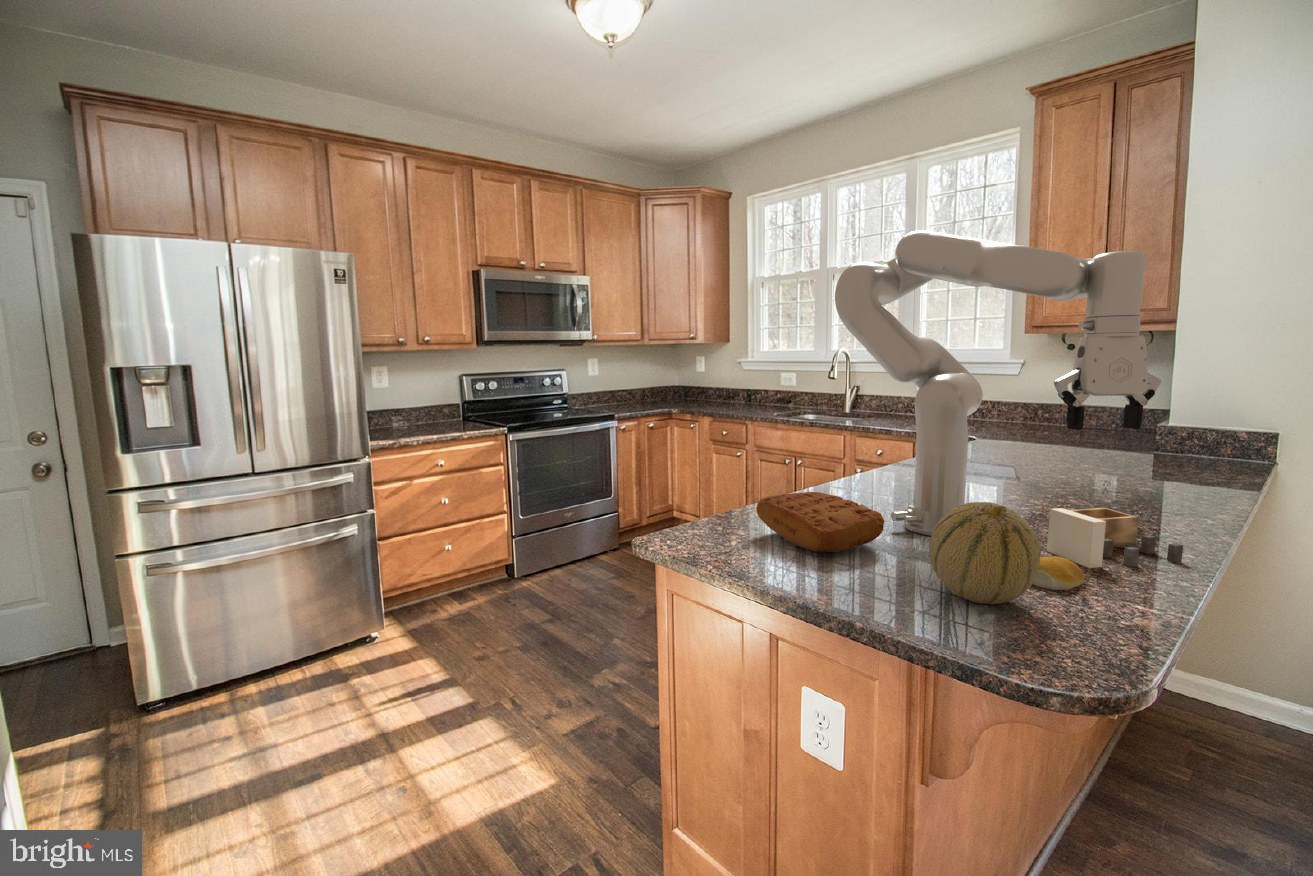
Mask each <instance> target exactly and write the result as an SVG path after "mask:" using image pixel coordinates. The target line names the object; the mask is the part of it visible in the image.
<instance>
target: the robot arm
mask: <svg viewBox="0 0 1313 876" xmlns="http://www.w3.org/2000/svg"><path fill="white" fill-rule="evenodd" d="M894 256H895V257H893V258H892V259H890V260H889V261H888V262H886V263H884V264H879V263H875V262H869V261H862V262H855V263H853V264H851V265H849V266H847V267H846V268H845V269H844V270H842V273H841V274H840V276H839V277H838V279H837V282H836V286H835V292H834V303H835V309H836V312H837V314H838V316H839V319H840V320H841V322H842V323H843V326H844V327H846V329H847V330H848V331H849V333H850V334H852V335H853V337H854V338H855V339H856V340H857V341H858V342H859V343H860V344H861V345H862V346H863V348H865V350H866V351H867V352H868V353H869V355H871V357H872V358H874V360H876V362H877V363H878V364H879V365H880V366H881V367H882V368H883V369H884V370H885V371H886V372H887V374H889V376H890V377H891V378H893V379H894V380H895V381H897V382H901V383H907V384H909V383H914V384H915V385H916V387H918V389H917V392H916V394H915V399H914V417H915V429H916V431H915V434H916V435H915V436H916V437H915V438H916V440H915V461H914V462H915V464H914V481H913V482H914V483H913V501H912V502H913V503H912V504H913V505H912V504H911V505H908V508H907V509H905V510H904V511H899V510H898V511H892V512H891V513H890V519H891V521H893V522H900V521H901V522H902V521H903V522H904V523H903V525H904V527H905V528H906V529H907V530H909V531H911V532H913V531H914V532H913V533H916V532H917V533H916V534H920V535H924V536H930V537H931V536H932V532H933V530H934V528H935V526H936V525H937V523H938V521H939V520H940V519H941V518H942V517H943V516H944V515H945V514H946V513H948V512H949V511H950V510H952V509H953V508H955V507H957V506H960V505H962V504H966V501H965V500H966V487H967V473H968V471H967V470H968V456H969V455H968V453H969V452H968V451H969V430H968V429H969V427H968V417H969V416H971V415H972V414H973V413H975V412H976V411H977V410H978V409H979V408H980V407H981V404H982V401H983V396H984V395H983V389H982V387H981V385H980V382H979V381H978V380H977V378H976V377H975V376H973V373H971V372H970V371H969V370H968V369H967V368H965V367H964V366H963V364H961V362H960V361H958V360H957V359H956V358H955V357H954V355H952V353H950V352H949V351H948V350H947V349H946V348H945V346H942V345H941V344H940V343H939V342H937V341H936V340H934V339H932V338H930V337H925V336H917V335H915V334H914V333H912V332H911V331H910V330H908V328H907V327H905V326H904V325H903V323H902V322H900V321H899V319H897V317H896V316H894V314H892V313H891V312H890V311H888V310H887V309H886V308H885V307H884V306H885V305H889V304H891V303H893V302H895V301H897V300H899V299H901V298H902V297H904V296H906V295H908V294H910V293H912V292H914V291H915V290H917V289H919V288H920V287H922V286H924V285H926V284H927V283H929V282H931V281H932V280H940V281H945V282H948V283H949V282H950V283H953V284H959V285H964V286H969V287H974V288H981V287H982V288H983V287H985V288H987V287H988V288H993V289H994V288H995V289H1000V290H1006V291H1011V292H1017V293H1022V294H1026V295H1031V296H1035V297H1041V298H1044V299H1049V300H1053V301H1057V302H1066V301H1068V302H1069V301H1074V300H1080V299H1084V298H1085V299H1086V307H1085V308H1086V309H1085V318H1084V321H1080V322H1079V323H1078V325H1077V326H1078V329H1079V330H1083V334H1084V335H1083V336H1081V337H1080V339H1079V341H1078V343H1077V347H1076V352H1075V356H1074V359H1073V360H1074V361H1073V364H1072V365H1073V366H1072V371H1071V372H1069V373H1067V374H1065V375H1063V376H1061V377H1059V378H1057V379H1055V380H1054V382H1053V385H1054V388H1055V391H1056V392H1057V395H1058V397H1059V398H1060V399H1061V400H1062V401H1063V403H1064V405H1065V406H1067V408H1066V411H1067V412H1066V425H1067V429H1069V430H1070V429H1071V430H1075V431H1076V430H1077V431H1082V430H1083V429H1084V419H1085V406H1082V405H1083V404H1084V402H1085V401H1087V399H1088V398H1089V397H1090V396H1098V397H1100V396H1104V397H1107V396H1110V397H1111V396H1112V397H1113V396H1117V397H1118V396H1123V397H1124V398H1125V399H1126V401H1127V402H1128V403H1126V404H1125V406H1124V413H1123V423H1122V424H1123V425H1122V426H1123V427H1124V428H1126V429H1133V430H1141V428H1142V422H1143V414H1144V413H1143V412H1144V410H1143V409H1144V407H1145V406H1147V405H1148V403H1149V400H1151V399H1152V398H1153V397H1154V396H1155V395H1156V391H1157V389H1158V388H1159V387H1160V385H1161V383H1162V379H1161V378H1159V377H1157V376H1155V375H1153V374H1151V373H1149V372H1148V370H1149V369H1148V366H1149V365H1148V363H1149V362H1148V350H1147V349H1148V348H1147V343H1146V338H1145V335H1140V331H1141V330H1140V329H1141V319H1142V308H1143V296H1144V286H1145V277H1146V275H1145V273H1146V265H1147V263H1146V262H1147V261H1146V260H1147V258H1146V256H1145V254H1144V253H1143V252H1141V251H1138V250H1120V251H1118V250H1117V251H1112V252H1111V251H1110V252H1105V253H1100V254H1098V255H1096V256H1094V257H1093V258H1092V257H1090V258H1089V257H1088V258H1079V257H1077V256H1074V255H1073V254H1070V253H1066V252H1063V251H1062V252H1061V251H1056V250H1051V249H1043V248H1037V247H1031V246H1024V245H1019V244H1018V245H1016V244H1010V243H1003V242H997V241H995V240H988V239H983V238H974V237H968V236H961V235H955V234H950V233H942V232H936V231H931V230H914V231H910V232H908V233H907V234H905V235H904V236H903V237H901V239H900V240H899V241H898V243H897V245H896V248H895V253H894ZM1069 384H1070V385H1071V390H1072V391H1070V390H1069V387H1068V386H1069Z"/></svg>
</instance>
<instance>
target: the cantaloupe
mask: <svg viewBox="0 0 1313 876" xmlns="http://www.w3.org/2000/svg"><path fill="white" fill-rule="evenodd" d="M928 546H929V551H928V553H929V561H930V564H931V567H932V571H933V572H934V574H935V576H937V578H938V579H939V581H940V582H941V583H942V584H943V585H944V587H946V588H947V590H949V592H952V594H954V595H957V596H958V597H960V598H962V599H965V600H967V601H971V602H973V603H978V604H988V605H997V604H1003V603H1008V602H1010V601H1012V600H1015V599H1017V598H1019V597H1020V596H1022V595H1023V594H1024V593H1025V592H1027V591H1028V590H1029V589H1030V588H1031V587H1032V585H1033V582H1034V580H1035V577H1036V575H1037V572H1038V567H1039V563H1040V557H1041V553H1042V550H1041V546H1040V541H1039V538H1038V537H1037V534H1036V533H1035V530H1034V529H1033V528H1032V526H1031V525H1030V524H1029V522H1028V521H1026V519H1024V518H1023V517H1022V516H1020V514H1019V513H1018V512H1016V511H1014V510H1012V509H1010V508H1009V507H1007V506H1004V505H1001V504H998V503H996V502H990V501H989V502H987V501H984V502H983V501H982V502H980V501H979V502H978V501H976V502H973V501H972V502H965V504H962V505H960V506H957V507H955V508H953V509H952V510H950V511H949V512H948V513H946V514H945V515H944V516H943V517H942V518H941V519H940V520H939V521H938V523H937V525H936V526H935V528H934V530H933V532H932V536H930V540H929V545H928Z"/></svg>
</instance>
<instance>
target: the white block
mask: <svg viewBox="0 0 1313 876" xmlns="http://www.w3.org/2000/svg"><path fill="white" fill-rule="evenodd" d="M1049 509H1050V510H1049V519H1048V520H1049V521H1048V532H1047V542H1046V543H1047V544H1046V552H1048V553H1050V554H1053V555H1055V556H1057V557H1062V558H1065V559H1068V560H1071V561H1072V562H1073V563H1075V564H1077V565H1081V566H1083V567H1086V568H1088V569H1096V568H1102V565H1103V558H1104V557H1103V547H1104V537H1105V526H1106V521H1103V520H1100V519H1096V518H1093V517H1090V516H1086V515H1083V514H1080V513H1076V512H1073V511H1070V510H1071V509H1066V508H1063V507H1058V508H1049Z"/></svg>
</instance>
